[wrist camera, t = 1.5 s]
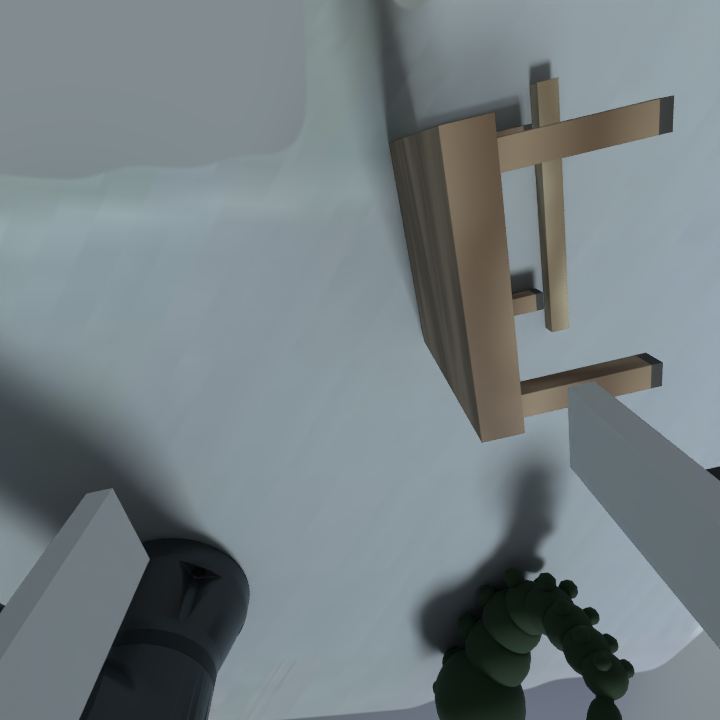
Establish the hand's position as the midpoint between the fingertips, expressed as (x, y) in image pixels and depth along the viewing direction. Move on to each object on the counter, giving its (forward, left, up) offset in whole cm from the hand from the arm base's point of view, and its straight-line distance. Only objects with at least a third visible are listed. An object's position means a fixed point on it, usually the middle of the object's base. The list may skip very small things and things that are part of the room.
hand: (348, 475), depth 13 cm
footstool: (+11, +1, -26) cm, 29 cm away
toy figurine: (+8, -43, -27) cm, 52 cm away
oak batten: (+18, +1, -27) cm, 32 cm away
